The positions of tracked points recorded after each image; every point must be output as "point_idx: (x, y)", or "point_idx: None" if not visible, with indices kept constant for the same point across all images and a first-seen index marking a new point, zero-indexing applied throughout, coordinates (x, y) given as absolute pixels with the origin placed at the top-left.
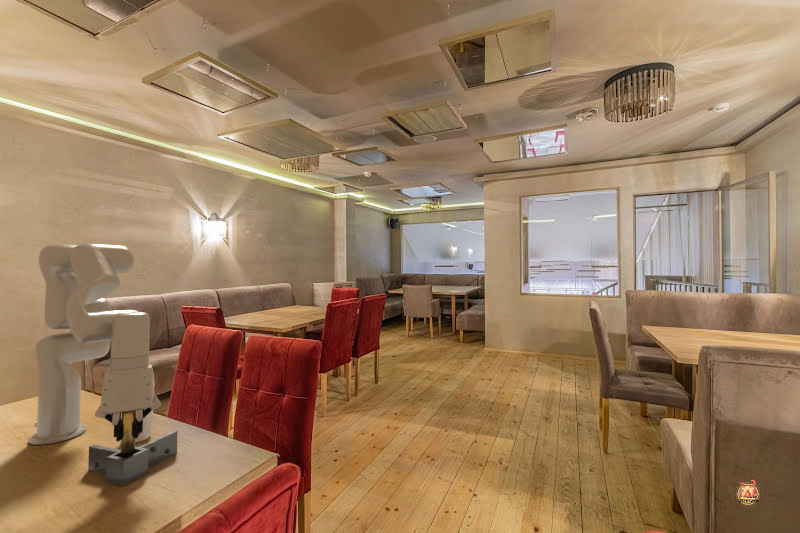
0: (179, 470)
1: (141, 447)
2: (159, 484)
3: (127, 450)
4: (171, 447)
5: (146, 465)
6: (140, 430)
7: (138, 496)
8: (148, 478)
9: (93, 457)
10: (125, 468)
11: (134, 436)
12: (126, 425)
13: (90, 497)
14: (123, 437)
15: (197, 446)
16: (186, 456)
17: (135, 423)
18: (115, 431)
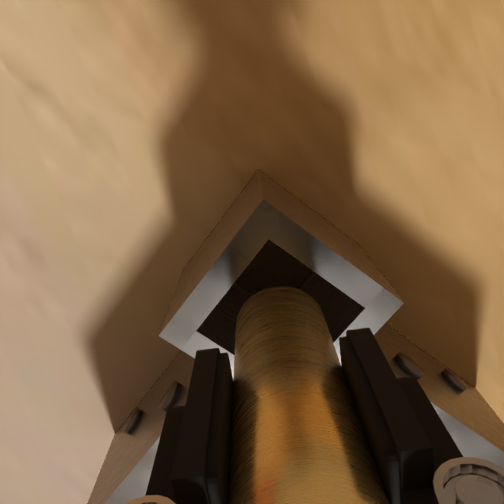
0: (25, 248)
1: None
2: (73, 127)
3: (271, 294)
4: (120, 444)
5: (181, 283)
6: (174, 415)
7: (138, 29)
8: (159, 215)
9: (487, 418)
10: (254, 195)
11: (221, 357)
12: (310, 448)
13: (385, 114)
14: (318, 357)
15: (34, 467)
16: (49, 384)
17: (200, 463)
18: (418, 413)
